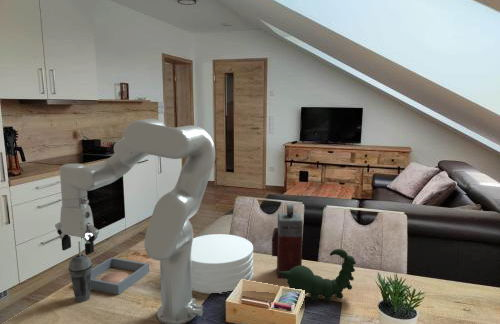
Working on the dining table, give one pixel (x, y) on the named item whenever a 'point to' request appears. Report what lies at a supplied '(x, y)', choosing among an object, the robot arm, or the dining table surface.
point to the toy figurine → (317, 285)
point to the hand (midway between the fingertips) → (78, 251)
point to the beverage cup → (81, 276)
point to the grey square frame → (117, 275)
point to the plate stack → (220, 262)
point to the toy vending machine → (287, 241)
